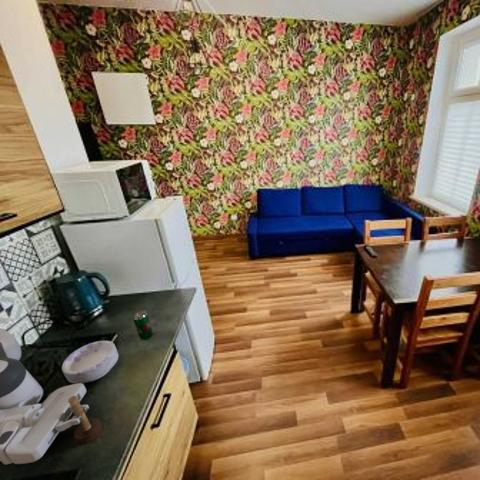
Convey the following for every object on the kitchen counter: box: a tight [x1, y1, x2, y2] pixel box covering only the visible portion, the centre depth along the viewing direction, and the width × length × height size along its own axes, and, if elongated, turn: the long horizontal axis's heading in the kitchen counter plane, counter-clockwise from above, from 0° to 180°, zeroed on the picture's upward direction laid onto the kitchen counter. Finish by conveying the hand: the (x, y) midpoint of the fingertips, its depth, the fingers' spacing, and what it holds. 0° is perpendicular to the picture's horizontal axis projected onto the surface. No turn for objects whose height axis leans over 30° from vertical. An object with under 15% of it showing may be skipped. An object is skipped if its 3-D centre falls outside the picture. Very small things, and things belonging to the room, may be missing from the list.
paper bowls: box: [61, 340, 119, 384], centre depth 98 cm, size 15×15×8 cm
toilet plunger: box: [68, 396, 104, 446], centre depth 76 cm, size 6×6×15 cm
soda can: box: [132, 310, 154, 341], centre depth 114 cm, size 5×5×12 cm
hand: (83, 414), depth 76 cm, fingers closed on toilet plunger
